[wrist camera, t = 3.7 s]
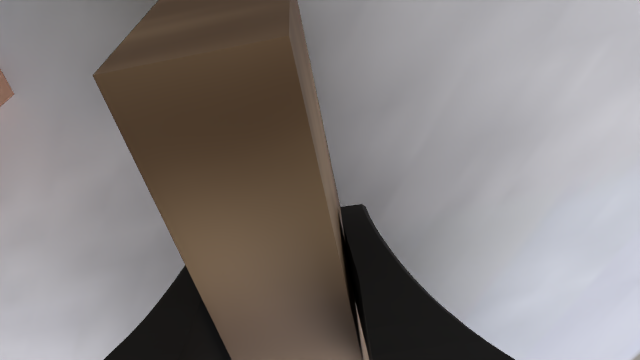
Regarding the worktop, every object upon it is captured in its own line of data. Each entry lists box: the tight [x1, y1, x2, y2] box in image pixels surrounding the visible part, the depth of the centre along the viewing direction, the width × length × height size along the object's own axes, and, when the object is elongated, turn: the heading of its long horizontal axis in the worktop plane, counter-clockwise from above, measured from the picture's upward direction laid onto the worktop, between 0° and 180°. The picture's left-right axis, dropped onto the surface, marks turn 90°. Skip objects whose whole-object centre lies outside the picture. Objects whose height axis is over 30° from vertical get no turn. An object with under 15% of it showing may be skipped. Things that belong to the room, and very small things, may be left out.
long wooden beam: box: [93, 0, 369, 360], centre depth 13 cm, size 14×3×5 cm, turn 10°
